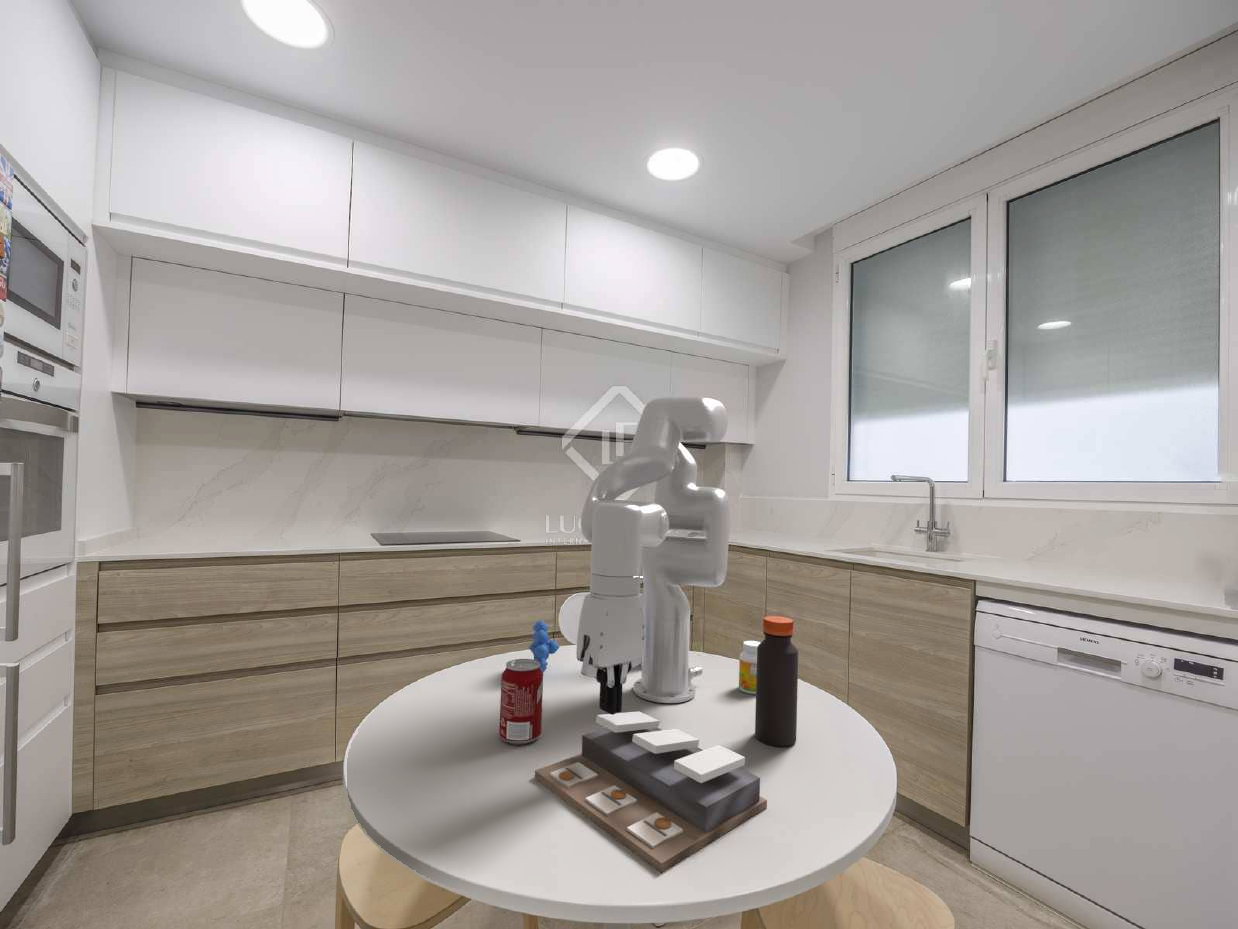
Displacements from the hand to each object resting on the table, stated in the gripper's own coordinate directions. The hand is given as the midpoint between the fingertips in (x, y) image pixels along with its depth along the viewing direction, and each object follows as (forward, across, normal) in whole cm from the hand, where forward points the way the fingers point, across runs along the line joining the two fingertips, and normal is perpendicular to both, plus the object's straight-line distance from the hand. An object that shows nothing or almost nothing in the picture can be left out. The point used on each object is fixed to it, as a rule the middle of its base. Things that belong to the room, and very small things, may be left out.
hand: (610, 710), depth 83 cm
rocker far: (+3, -4, 0) cm, 5 cm away
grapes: (+8, -15, -40) cm, 43 cm away
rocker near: (+3, -4, +16) cm, 17 cm away
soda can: (+9, +5, -17) cm, 19 cm away
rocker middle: (+3, -4, +8) cm, 9 cm away
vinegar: (+9, -29, +9) cm, 32 cm away
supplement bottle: (+8, -45, -7) cm, 47 cm away
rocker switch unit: (+9, 0, +8) cm, 12 cm away
